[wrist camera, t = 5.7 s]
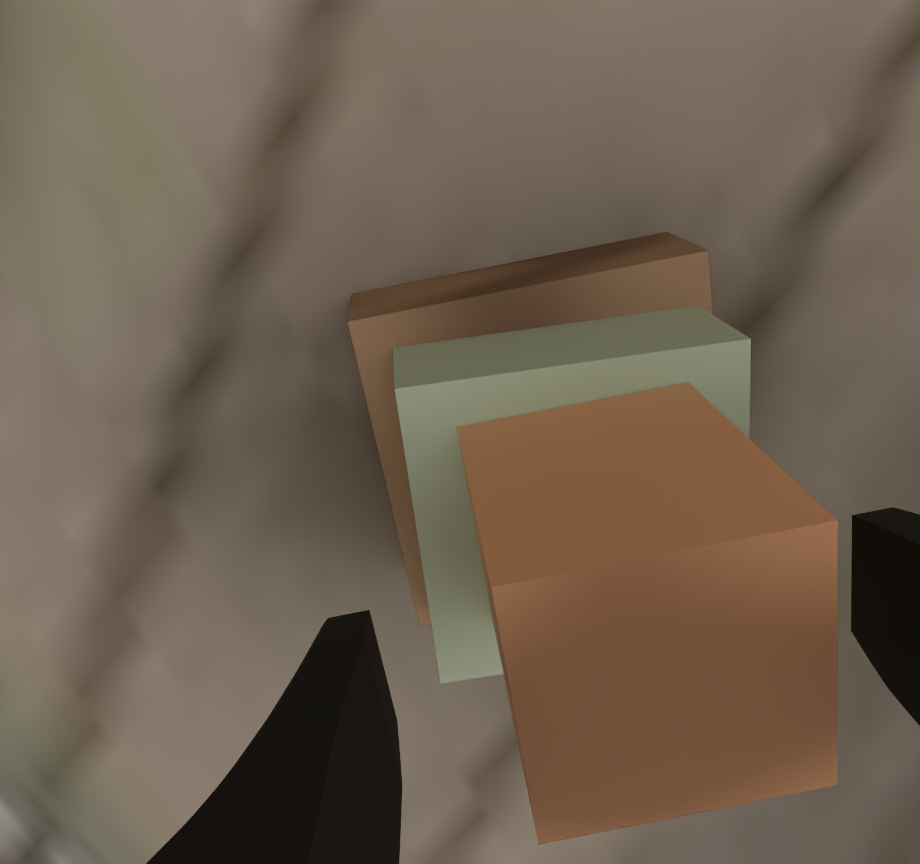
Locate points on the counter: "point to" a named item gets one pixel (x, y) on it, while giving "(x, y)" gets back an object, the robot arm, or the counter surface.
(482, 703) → the counter surface
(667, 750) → the terracotta block
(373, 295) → the walnut slab
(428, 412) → the sage block
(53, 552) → the counter surface
